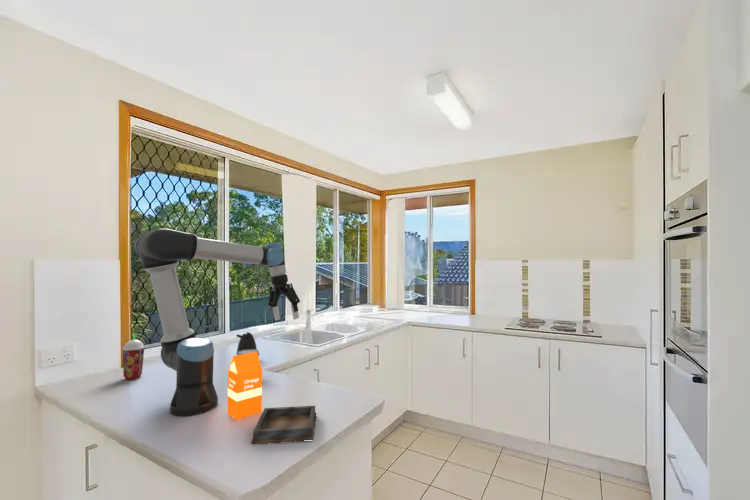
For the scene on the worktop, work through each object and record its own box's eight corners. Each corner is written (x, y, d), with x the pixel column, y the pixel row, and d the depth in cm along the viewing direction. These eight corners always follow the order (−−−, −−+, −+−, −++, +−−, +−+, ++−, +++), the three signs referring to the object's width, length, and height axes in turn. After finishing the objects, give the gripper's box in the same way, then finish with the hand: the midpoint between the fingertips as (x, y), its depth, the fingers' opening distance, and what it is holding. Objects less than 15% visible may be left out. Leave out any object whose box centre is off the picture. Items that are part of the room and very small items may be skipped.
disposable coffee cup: (244, 383, 149) (244, 355, 150) (232, 379, 155) (232, 352, 155) (263, 377, 156) (263, 350, 157) (251, 373, 162) (251, 348, 163)
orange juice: (227, 413, 118) (228, 354, 119) (251, 406, 125) (252, 349, 126) (236, 420, 113) (237, 358, 114) (262, 412, 119) (262, 353, 120)
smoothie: (148, 375, 160) (149, 331, 161) (134, 381, 152) (135, 335, 153) (131, 375, 161) (132, 331, 162) (116, 380, 153) (118, 335, 154)
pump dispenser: (235, 360, 187) (235, 331, 188) (255, 357, 191) (256, 330, 192) (236, 364, 178) (237, 334, 178) (257, 362, 182) (258, 333, 183)
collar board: (251, 445, 97) (251, 432, 97) (263, 418, 114) (263, 407, 114) (313, 441, 99) (313, 428, 99) (316, 415, 116) (316, 405, 116)
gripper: (302, 270, 160) (310, 316, 159) (268, 276, 174) (276, 318, 174) (289, 273, 154) (298, 320, 153) (256, 279, 168) (263, 322, 168)
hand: (286, 319), depth 164 cm, fingers open, 13 cm apart
